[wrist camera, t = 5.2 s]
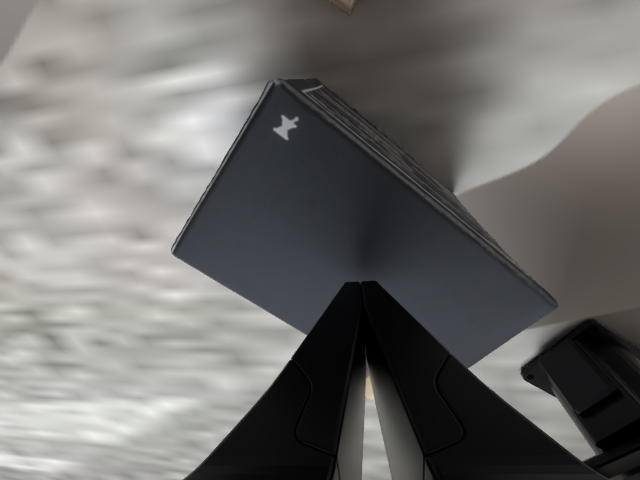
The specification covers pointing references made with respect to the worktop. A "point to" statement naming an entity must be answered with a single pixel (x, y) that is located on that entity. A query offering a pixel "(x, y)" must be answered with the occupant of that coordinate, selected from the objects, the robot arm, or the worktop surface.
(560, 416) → the worktop surface
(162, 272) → the worktop surface
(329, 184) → the small box
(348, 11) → the marked block 1
